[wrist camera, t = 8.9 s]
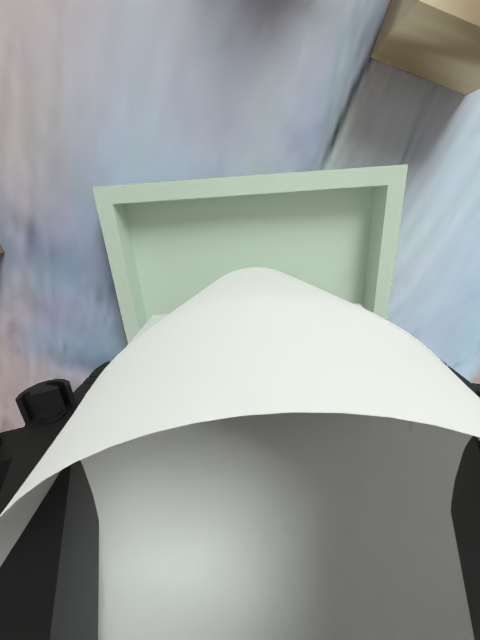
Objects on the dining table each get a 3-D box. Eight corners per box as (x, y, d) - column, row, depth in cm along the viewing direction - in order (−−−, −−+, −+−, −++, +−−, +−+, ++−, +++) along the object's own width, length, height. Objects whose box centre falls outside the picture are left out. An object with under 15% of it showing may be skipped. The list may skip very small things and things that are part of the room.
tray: (156, 411, 21) (147, 431, 19) (110, 189, 15) (91, 186, 13) (361, 402, 20) (373, 422, 18) (387, 169, 15) (408, 164, 13)
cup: (342, 389, 17) (548, 769, 5) (190, 407, 17) (88, 780, 6) (339, 227, 13) (843, 328, 2) (151, 255, 14) (-231, 451, 3)
